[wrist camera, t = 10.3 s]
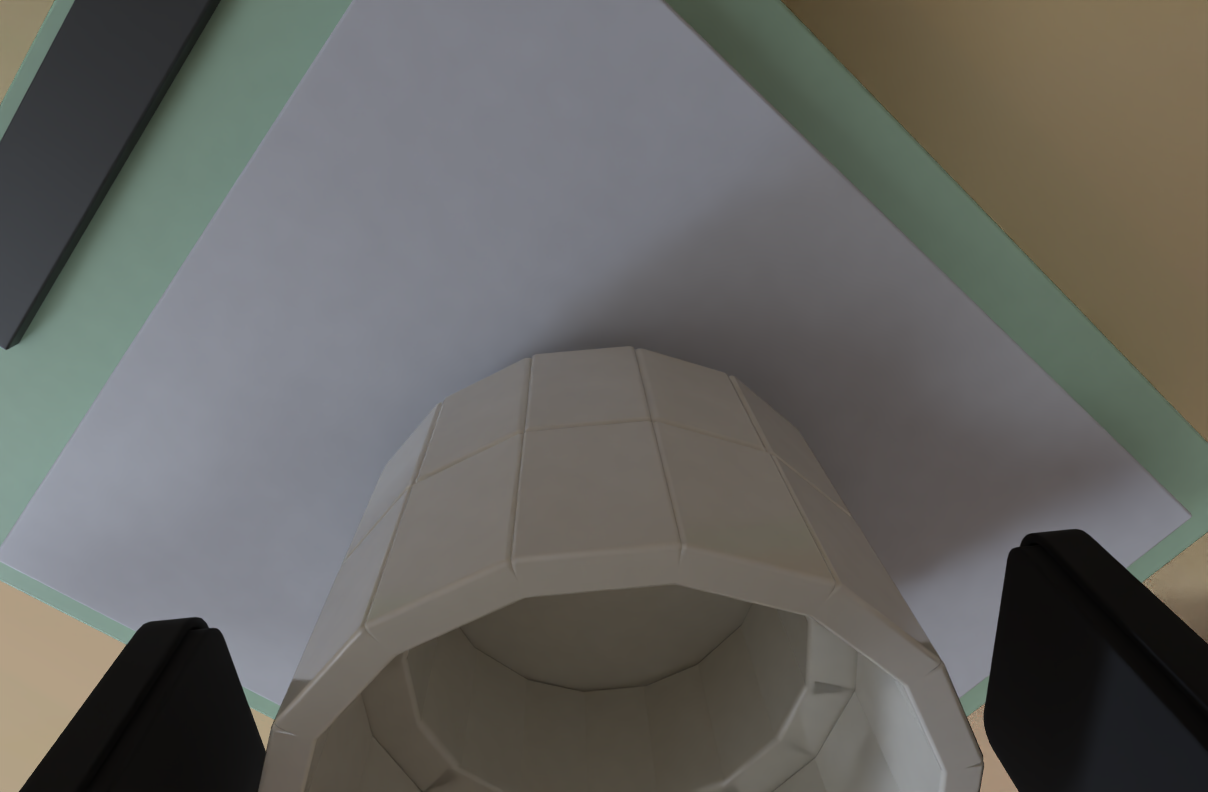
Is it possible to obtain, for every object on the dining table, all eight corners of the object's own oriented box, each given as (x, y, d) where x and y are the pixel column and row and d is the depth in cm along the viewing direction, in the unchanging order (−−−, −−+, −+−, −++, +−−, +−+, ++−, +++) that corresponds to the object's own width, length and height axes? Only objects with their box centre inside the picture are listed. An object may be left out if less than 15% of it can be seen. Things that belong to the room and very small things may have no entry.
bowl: (287, 571, 12) (117, 895, 7) (572, 231, 10) (579, 385, 5) (621, 767, 14) (649, 1116, 9) (911, 515, 12) (1123, 800, 7)
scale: (-77, 413, 14) (-237, 503, 11) (363, -372, 10) (287, -535, 7) (675, 830, 19) (694, 961, 16) (1158, 430, 15) (1290, 514, 12)
